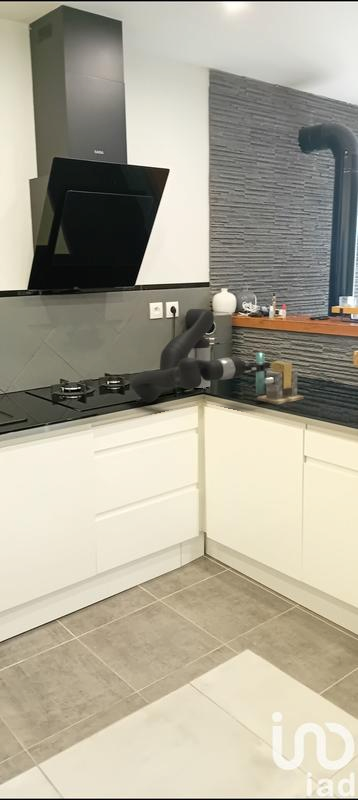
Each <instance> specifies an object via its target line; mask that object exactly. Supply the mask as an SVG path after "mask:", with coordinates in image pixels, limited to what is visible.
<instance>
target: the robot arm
mask: <svg viewBox="0 0 358 800" xmlns="http://www.w3.org/2000/svg"><path fill="white" fill-rule="evenodd" d="M184 317H185V318H184V327H185V331H183V332H182V333H179V334H178V335H175V336H174V337H173V338H172V339H170V340H169V341H168V343H167V344H166V345H165V347H164V348H163V349H162V350H161V354H160V361H159V370H143V371H141V372H139V373H138V374H137V375H135V377H133V379H132V380H131V381H130V382H131V383H130V388H131V389H132V390H133V391H134V392H135V393H136V395H138V397H139V398H140V399H141V400H142V401H143V402H144V401H145V402H144V403H146V404H152V403H153V402H154V401H156V400H157V398H159V396H160V395H161V394H162V392H163V390H164V389H167V390H169V389H171V390H172V389H176V388H182V389H188V390H193V389H194V388H203V389H207V388H206V387H209V388H211V381H220V380H230V379H235V378H236V379H237V378H240V377H241V376H242V375H243V373H249V372H250V373H256V372H259V371H266V370H267V369H271V362H268V361H267V362H265V363H256V361H255V360H254V359H247V360H244V359H241V358H240V357H238V356H230V357H223V358H218V359H212V360H211V357H210V355H211V354H210V352H211V350H210V349H211V348H210V346H211V345H210V342H211V341H210V340H209V339H207V338H205V337H204V336H206V334H207V333H208V332H209V331H211V328H212V327H213V325H214V321H215V317H214V313H213V311H211V310H210V309H206V308H205V309H204V308H190V309H188V310H187V311H186V313H185V316H184Z"/></svg>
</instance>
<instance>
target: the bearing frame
mask: <svg viewBox="0 0 358 800" xmlns="http://www.w3.org/2000/svg"><path fill="white" fill-rule="evenodd" d="M265 371H266V370H265ZM270 377H275V383H272V384H267V385H265V387H266V390H265V391H266V393H265V394H266V395H262V396H257V397H256V400H257V401H260V402H261V401H262V402H264V403H270V404H274V405H281V404H286V403H292V402H295V401H296V402H297V401H300V400H304V395H299V394H298V370H297V369H293V368H292V377H291V387H290V388H285V389H283V388H282V373H281V372H276V371H271V370H267V371H266V376H265V378H270Z"/></svg>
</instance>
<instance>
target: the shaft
mask: <svg viewBox="0 0 358 800" xmlns="http://www.w3.org/2000/svg"><path fill="white" fill-rule="evenodd" d="M265 354H266V353H265V352H260V351H259V352H255V362H256V363H266V362H265V361H266V359H265ZM265 371H266V370H265ZM265 371H259V372H255V394H258V395H259V394H260V395H262V394H266V393H265V391H266V390H265V387H266V385H267V384H272V383H275V377H270V378H266V376H265Z"/></svg>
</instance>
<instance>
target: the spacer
mask: <svg viewBox="0 0 358 800" xmlns="http://www.w3.org/2000/svg"><path fill="white" fill-rule="evenodd" d="M292 369H293V363H292V362H286V361H282V360H276V361H270V371H276V372H281V373H282V388H283V389H285V388H290V387H291V377H292Z"/></svg>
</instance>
